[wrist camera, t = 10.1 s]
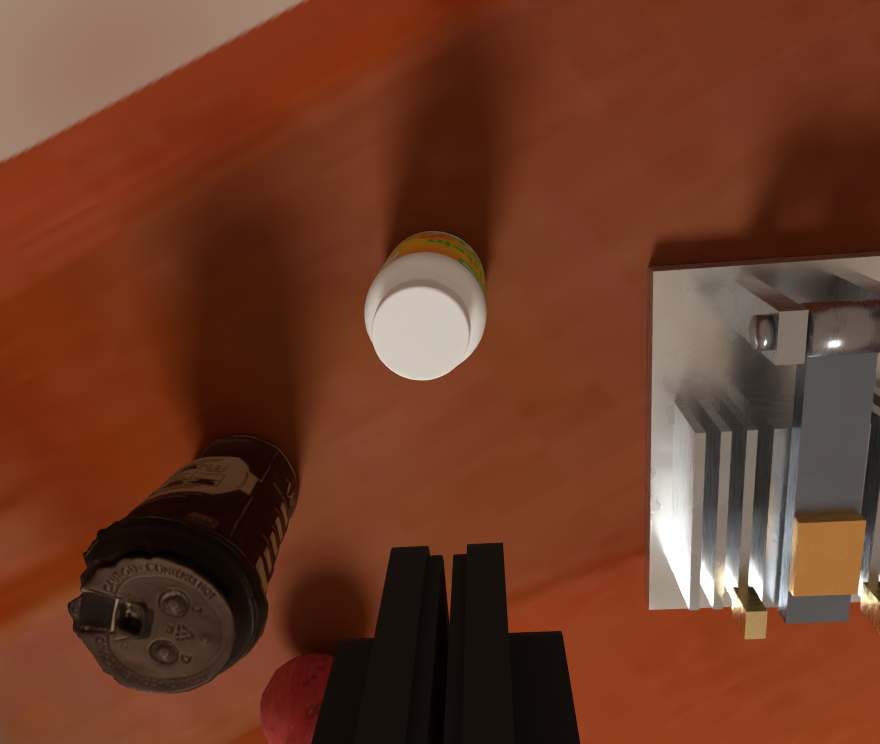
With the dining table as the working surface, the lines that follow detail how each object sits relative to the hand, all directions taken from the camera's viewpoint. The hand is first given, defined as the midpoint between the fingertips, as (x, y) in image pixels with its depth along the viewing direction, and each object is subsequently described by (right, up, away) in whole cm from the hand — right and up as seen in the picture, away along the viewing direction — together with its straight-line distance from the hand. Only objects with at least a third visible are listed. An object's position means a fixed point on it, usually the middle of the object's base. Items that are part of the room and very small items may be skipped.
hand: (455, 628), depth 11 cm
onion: (-8, -14, +37) cm, 40 cm away
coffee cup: (-12, -2, +33) cm, 35 cm away
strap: (+18, 0, +25) cm, 31 cm away
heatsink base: (+18, 0, +30) cm, 35 cm away
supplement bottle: (-1, +9, +28) cm, 29 cm away
